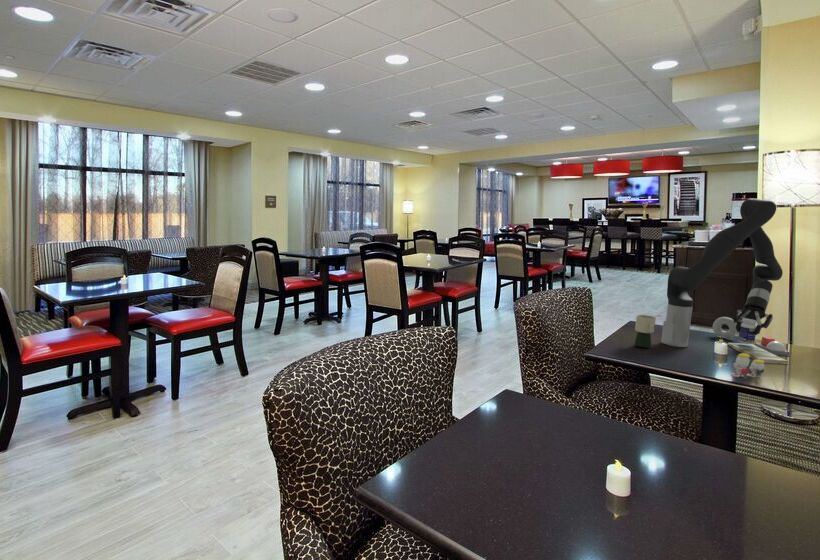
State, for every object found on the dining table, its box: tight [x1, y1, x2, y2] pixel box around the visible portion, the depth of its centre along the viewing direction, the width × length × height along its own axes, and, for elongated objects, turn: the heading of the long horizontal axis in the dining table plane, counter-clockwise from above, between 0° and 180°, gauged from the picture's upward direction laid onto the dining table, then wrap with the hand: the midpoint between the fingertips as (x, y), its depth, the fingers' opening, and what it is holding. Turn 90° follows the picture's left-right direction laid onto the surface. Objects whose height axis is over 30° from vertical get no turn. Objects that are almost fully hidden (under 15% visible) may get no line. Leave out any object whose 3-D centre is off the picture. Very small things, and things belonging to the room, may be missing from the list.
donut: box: [712, 316, 738, 340], centre depth 218 cm, size 10×4×10 cm, turn 39°
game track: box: [727, 342, 789, 365], centre depth 196 cm, size 23×10×1 cm, turn 174°
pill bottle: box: [737, 318, 757, 345], centre depth 202 cm, size 6×6×10 cm
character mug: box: [634, 314, 656, 349], centre depth 198 cm, size 11×7×13 cm, turn 0°
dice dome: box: [753, 336, 791, 357], centre depth 201 cm, size 12×7×6 cm, turn 174°
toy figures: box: [730, 353, 766, 378], centre depth 167 cm, size 12×4×8 cm, turn 97°
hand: (746, 332), depth 201 cm, fingers closed on pill bottle, 5 cm apart
